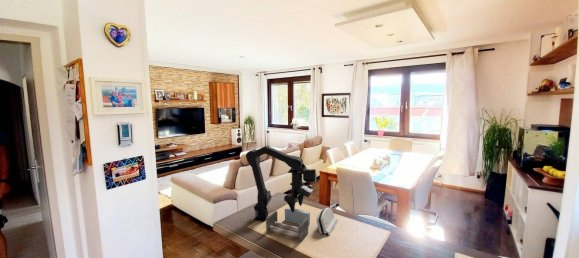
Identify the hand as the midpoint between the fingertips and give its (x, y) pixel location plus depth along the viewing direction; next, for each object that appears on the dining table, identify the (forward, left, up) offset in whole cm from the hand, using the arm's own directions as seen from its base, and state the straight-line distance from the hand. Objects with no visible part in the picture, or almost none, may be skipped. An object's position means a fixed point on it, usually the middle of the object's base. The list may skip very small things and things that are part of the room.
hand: (296, 208), depth 132 cm
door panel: (0, 0, -8) cm, 8 cm away
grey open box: (+1, -12, -8) cm, 15 cm away
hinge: (+16, +3, -8) cm, 18 cm away
